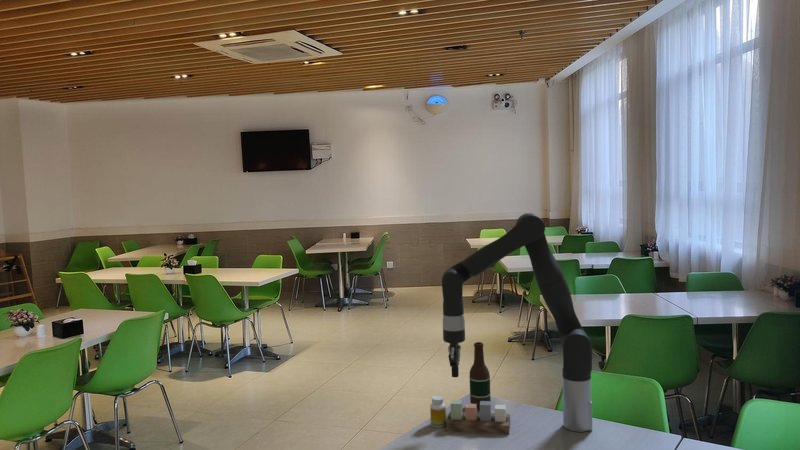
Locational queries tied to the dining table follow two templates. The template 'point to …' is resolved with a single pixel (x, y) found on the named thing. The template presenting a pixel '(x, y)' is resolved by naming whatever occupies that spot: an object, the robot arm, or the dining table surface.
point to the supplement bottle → (438, 412)
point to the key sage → (456, 410)
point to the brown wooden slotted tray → (478, 425)
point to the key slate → (485, 411)
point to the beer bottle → (479, 377)
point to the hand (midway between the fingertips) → (455, 376)
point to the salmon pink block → (471, 412)
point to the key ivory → (500, 413)
